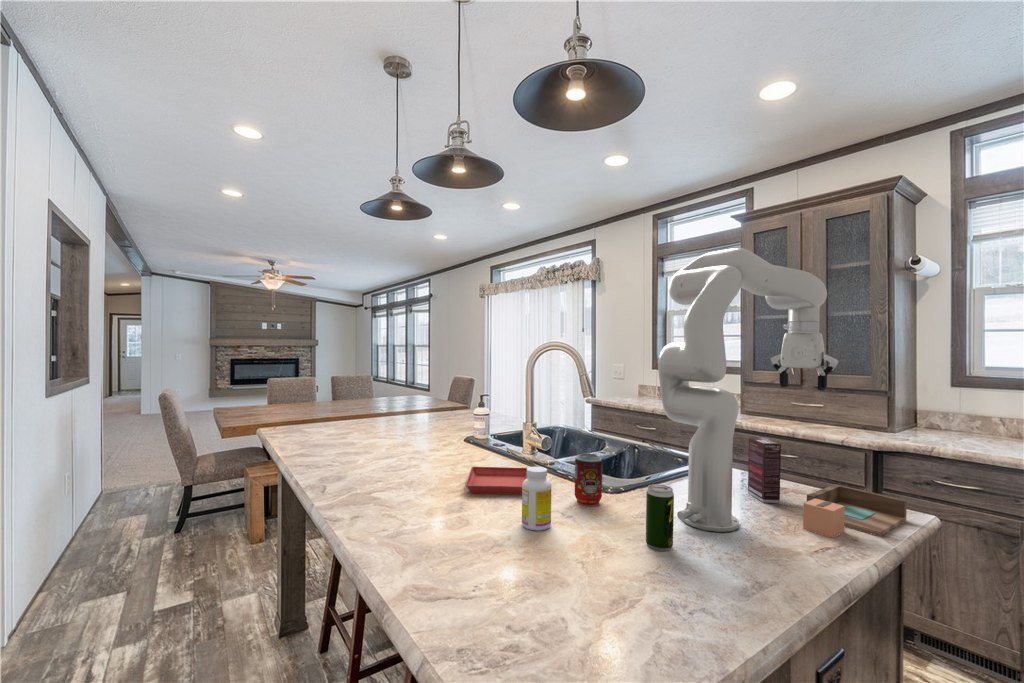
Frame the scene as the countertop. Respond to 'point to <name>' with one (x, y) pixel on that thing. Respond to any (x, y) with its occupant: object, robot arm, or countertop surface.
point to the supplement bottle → (536, 499)
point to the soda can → (588, 479)
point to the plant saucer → (496, 480)
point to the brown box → (823, 517)
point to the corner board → (865, 508)
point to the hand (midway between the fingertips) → (802, 388)
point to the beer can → (659, 517)
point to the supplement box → (764, 469)
